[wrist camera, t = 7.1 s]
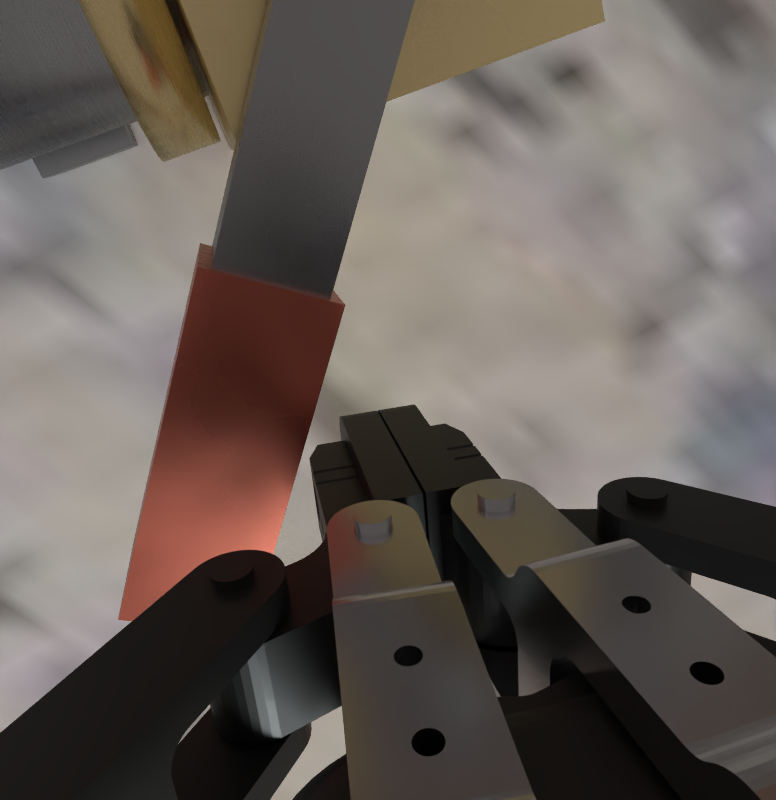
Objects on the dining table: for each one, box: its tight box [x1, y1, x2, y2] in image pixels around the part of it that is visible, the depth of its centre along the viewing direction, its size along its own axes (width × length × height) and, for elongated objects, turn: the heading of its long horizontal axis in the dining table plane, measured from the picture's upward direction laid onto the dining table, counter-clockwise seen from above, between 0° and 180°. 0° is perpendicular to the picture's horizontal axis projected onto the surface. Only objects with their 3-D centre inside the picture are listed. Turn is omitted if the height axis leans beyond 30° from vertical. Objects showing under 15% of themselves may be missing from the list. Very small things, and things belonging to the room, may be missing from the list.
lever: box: [118, 0, 415, 621], centre depth 11 cm, size 14×4×2 cm, turn 161°
